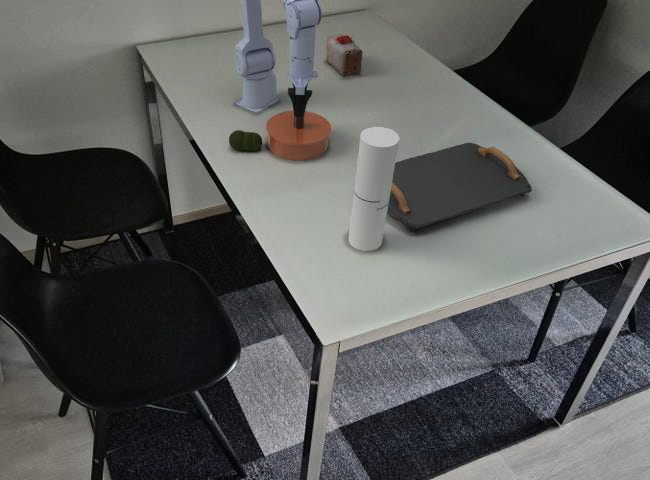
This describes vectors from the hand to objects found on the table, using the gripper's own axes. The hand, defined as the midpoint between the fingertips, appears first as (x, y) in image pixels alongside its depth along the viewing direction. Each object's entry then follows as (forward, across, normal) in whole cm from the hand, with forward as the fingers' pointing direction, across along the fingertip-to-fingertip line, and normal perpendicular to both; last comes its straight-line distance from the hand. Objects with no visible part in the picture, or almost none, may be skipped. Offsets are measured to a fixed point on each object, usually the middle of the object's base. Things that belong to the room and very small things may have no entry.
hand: (299, 108), depth 155 cm
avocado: (+10, -3, +13) cm, 17 cm away
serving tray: (+11, -17, -35) cm, 40 cm away
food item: (+11, +45, -13) cm, 48 cm away
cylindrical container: (+11, -36, -15) cm, 41 cm away
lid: (+6, 0, 0) cm, 6 cm away
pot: (+10, 0, 0) cm, 10 cm away
